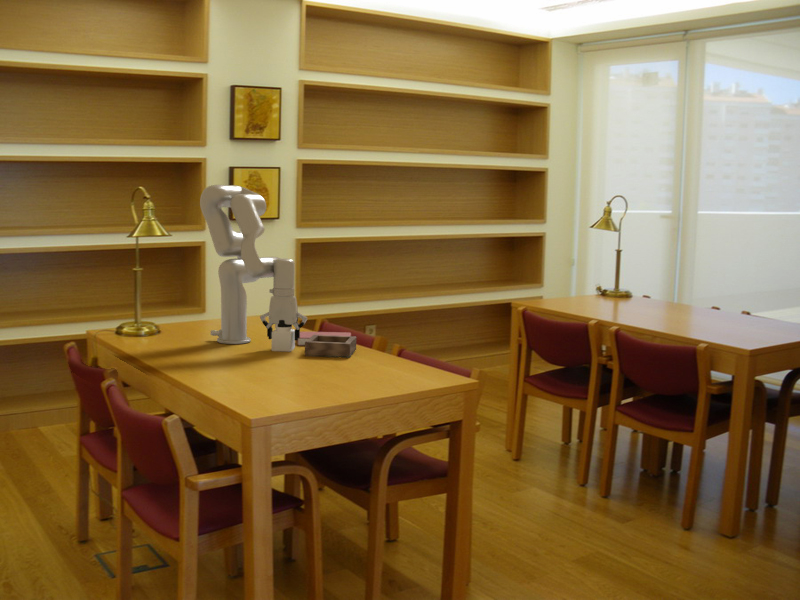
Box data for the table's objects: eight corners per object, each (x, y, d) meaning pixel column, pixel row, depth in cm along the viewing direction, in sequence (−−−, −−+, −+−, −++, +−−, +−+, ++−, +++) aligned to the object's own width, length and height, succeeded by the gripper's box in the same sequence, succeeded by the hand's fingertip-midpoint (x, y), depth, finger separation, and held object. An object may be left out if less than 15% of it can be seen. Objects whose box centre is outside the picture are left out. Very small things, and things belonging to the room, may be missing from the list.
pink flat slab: (297, 345, 314) (297, 337, 314) (299, 339, 329) (299, 331, 328) (350, 346, 315) (350, 338, 315) (350, 340, 330) (350, 332, 329)
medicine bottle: (295, 348, 309) (295, 316, 307) (290, 352, 301) (291, 319, 300) (276, 347, 309) (276, 315, 308) (271, 351, 302) (271, 318, 301)
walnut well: (304, 355, 295) (304, 342, 294) (313, 347, 310) (313, 334, 310) (349, 358, 293) (349, 343, 293) (356, 349, 309) (356, 336, 308)
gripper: (257, 293, 300) (257, 340, 302) (305, 294, 298) (304, 342, 300) (263, 290, 307) (262, 336, 309) (309, 292, 306) (308, 338, 308)
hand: (283, 339), depth 305 cm, fingers open, 9 cm apart
